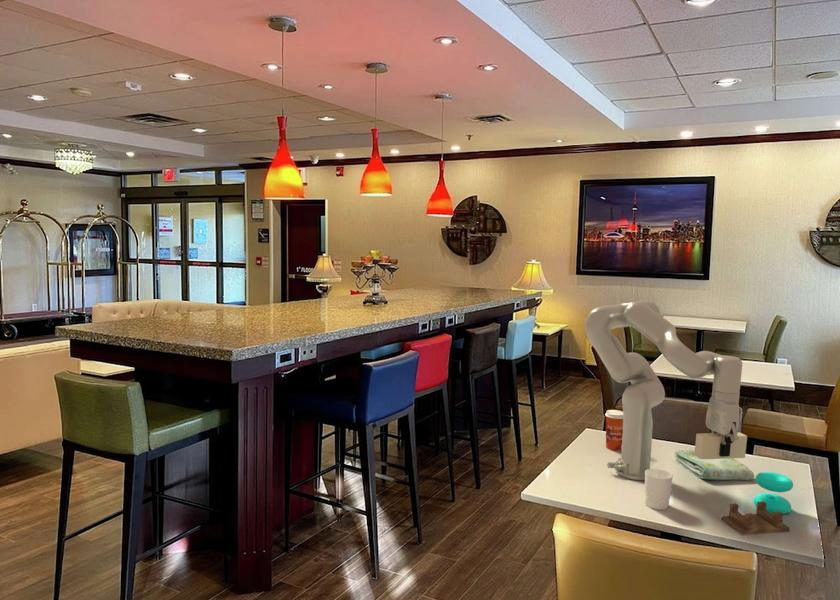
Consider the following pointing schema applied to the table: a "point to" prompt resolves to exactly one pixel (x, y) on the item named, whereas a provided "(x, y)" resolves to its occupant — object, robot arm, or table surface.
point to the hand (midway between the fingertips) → (720, 452)
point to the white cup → (657, 488)
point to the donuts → (774, 484)
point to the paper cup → (614, 429)
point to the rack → (755, 520)
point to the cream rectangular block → (718, 446)
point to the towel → (713, 467)
